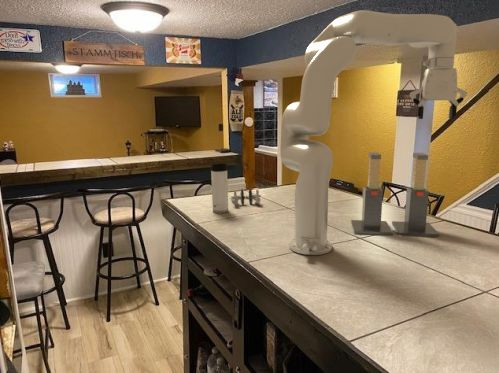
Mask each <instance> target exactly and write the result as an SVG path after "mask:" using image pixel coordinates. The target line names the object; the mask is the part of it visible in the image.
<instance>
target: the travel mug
mask: <svg viewBox="0 0 499 373" xmlns="http://www.w3.org/2000/svg"><path fill="white" fill-rule="evenodd" d="M210 165H211V166H210V167H211V170H210V172H211V174H210V176H211V178H210V179H211V196H212V197H211V199H212V200H211V201H212V213H215V214H225V213H228V212H229V187H228V186H229V183H228V163H227V162H218V163H211V164H210Z"/></svg>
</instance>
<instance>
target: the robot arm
mask: <svg viewBox="0 0 499 373" xmlns="http://www.w3.org/2000/svg"><path fill="white" fill-rule="evenodd" d="M457 33H458V25H457V23H455V22H454V20H452V19H451V17H449V16H446V15H440V14H433V13H418V14H417V13H415V14H413V13H411V14H410V13H409V14H408V13H405V14H404V13H401V14H398V13H388V12H387V13H386V12H380V11H372V10H364V9H363V10H362V9H361V10H356V11H352V12H349V13H347V14H344V15H341V16H338V17H337V18H335V19H333V21H331V23H329V24H328V25H327V27H326V28H325V29H323V31H322V32H321V33H320V34H318V36H316V38H315V39H314V40H312V42H310V44H309V45H308V47H307V48H306V50H305V53H304V63H305V65H306V66H305V67H306V68H305V71H304V74H303V77H302V80H301V87H300V98H299V101H294V102H291V104H289V105H287V107H286V108H285V110H284V112H283V113H282V118H281V125H280V126H281V127H280V145H279V146H280V147H279V148H280V149H279V153H280V160H281V162H282V164H283V165H284V166H285V168H288V169H289V170H291V171H295V172H297V173H298V176H297V180H296V183H295V187H294V238H293V239H291V240H290V241H289V243H288V245H289V246H288V247H289V249H290V250H291V251H293V253H294V252H295V253H297V254H301V255H307V256H319V255H321V256H322V255H325V254H328V253H330V252H331V251H332V250H333V244H332V242H331V241H329V240H328V218H329V216H328V214H329V186H330V177H331V172H332V168H333V161H334V156H333V152H332V150H331V149H330V147H329V146H327V145H326V144H325V143H323V142H321V141H316V140H310V139H309V137H317V136H318V137H319V136H322V135H325V133H327V132H328V130H329V128H330V124H331V116H332V115H331V114H332V101H333V100H332V98H333V90H334V85H335V81H336V79H337V77H338V76H339V74H340V73H341V72H342V71H343V70H344V69H345V68H346V67H348V66H349V65H350V64H351V63H352V62H353V61H354V59H355V56H356V55H357V54H356V53H357V44H365V45H369V44H370V45H379V46H389V47H390V46H401V45H402V46H403V45H406V44H407V45H408V46H409V47H411V48H414V49H422V48H423V49H424V48H428V58H427V60H426V61H425V60H424V61H423V62H422V66H423V67H424V66H425V67H426V68H427V69H425V70H424V73H423V77H422V82H421V87H419V88H417V89H416V90H413V91H411V92H410V93H409V97H410V99H411V100H412V103H414V105H415V106H416V108H417V109H416V110H417V111H416V117H417V119H418V120H422V119H424V110H425V108H424V106H423V105H424V104H425V103H426V102H427V101H428V102H429V101H448V102H449V104H450V106H449V111H448V113H449V114H448V119H452V120H455V117H456V116H457V108H458V106H459V105H460V104H461V103H462V102H464V100H465V98H466V96H467V94H468V92H467V91H466V90H463V89H462V88H460V87H458V72H457V68H456V67H454V66H455V65H454V64H455V54H456V43H457ZM418 94H420V99H418V98H417V95H418ZM458 94H460V96H459V97H458V98H457V95H458Z"/></svg>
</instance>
